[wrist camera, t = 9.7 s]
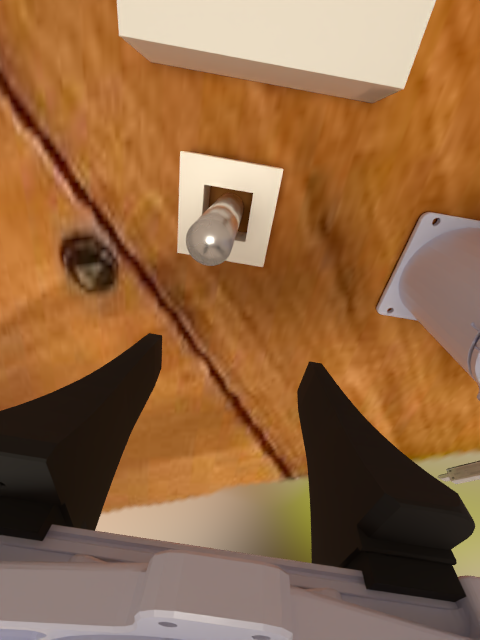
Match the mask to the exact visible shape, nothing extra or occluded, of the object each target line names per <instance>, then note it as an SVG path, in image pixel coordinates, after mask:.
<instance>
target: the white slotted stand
mask: <svg viewBox="0 0 480 640" xmlns="http://www.w3.org/2000/svg"><path fill="white" fill-rule="evenodd" d="M435 2H436V0H117V10H118V26H119V36H120V37H122V38H123V39H124V40H125V41H126V42H127V43H129V44H130V45H131V46H132V47H133V48H135V49H136V50H137V51H138V52H139V53H140V54H142V55H143V56H144V57H145V58H146V59H148V60H149V61H150V62H153V63H159V64H164V65H169V66H175V67H180V68H186V69H191V70H196V71H202V72H207V73H213V74H218V75H223V76H229V77H234V78H239V79H245V80H250V81H256V82H261V83H266V84H272V85H277V86H282V87H288V88H293V89H299V90H304V91H309V92H315V93H320V94H326V95H331V96H336V97H342V98H347V99H352V100H358V101H363V102H369V103H374V102H376V101H379V100H381V99H383V98H385V97H387V96H389V95H391V94H394V93H396V92H398V91H400V90H402V89H404V87H405V84H406V81H407V78H408V76H409V73H410V70H411V67H412V65H413V62H414V59H415V56H416V54H417V51H418V48H419V45H420V43H421V40H422V37H423V34H424V32H425V29H426V26H427V23H428V21H429V18H430V15H431V12H432V10H433V7H434V4H435Z"/></svg>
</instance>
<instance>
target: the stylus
mask: <svg viewBox="0 0 480 640" xmlns="http://www.w3.org/2000/svg"><path fill="white" fill-rule="evenodd" d="M243 211H244V205H243V202H242V200H241V198H240V197H239V196H238V195H236V194H234V193H225V194H223V195H221V196H220V197H219V198H218V199H217V200H216V201H215V202H214V203H213V204H212V205H211V206H210V207H209V208H208V209H207V210H206V211H205V212H204V213H203V214H202V215H201V216H200V217H199V219H198V220H197V221H196V222H195V223H194V224H193V225H192V226H191V227H190V228H189V230H188V232H187V235H186V246H187V249H188V252H189V253H190V255H191V256H192V257H193V259H195V260H196V261H197V262H199V263H201V264H203V265H207V266H214V265H218V264H221V263H222V262H224V261H225V260H226V259H227V258H228V257H229V255H230V253H231V250H232V247H233V244H234V240H235V237H236V234H237V231H238V228H239V224H240V221H241V218H242V215H243Z"/></svg>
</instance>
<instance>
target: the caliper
mask: <svg viewBox="0 0 480 640" xmlns="http://www.w3.org/2000/svg"><path fill="white" fill-rule="evenodd" d="M446 470H447V474H443V475H439V476H438V478H440V479H442V480H444V481H450V480H451V481H452V482H453V483H455V484H458V483H464V482H468V481H473V480H478V479H480V461H477V462H473V463H468V464H464V465H460V466H456V467H452V468H448V469H446Z"/></svg>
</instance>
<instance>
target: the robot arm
mask: <svg viewBox="0 0 480 640" xmlns="http://www.w3.org/2000/svg"><path fill="white" fill-rule="evenodd" d="M435 218H437V222H436V223H435V224H433V225H432V221H433V220H434V219H435ZM389 308H392V309H391V310H390V311H387V310H388V309H389ZM376 310H377V312H378V313H379V314H381V315H387V316H393V317H399V318H405V319H411V320H417V321H419V322H420V323H421V324H422V325H423V326H424V327H425V329H426V330H427V331H428V332H429V333H430V334H431V335H432V336H433V337H434V338H435V339H436V340H437V341H438V342H439V343H440V344H441V345H442V346H443V347H444V349H445V350H446V351H447V352H448V353H449V354H450V355H451V356H452V357H453V358H454V359H455V360H456V361H457V362H458V363H459V364H460V365H461V366H462V367H463V369H464V370H465V371H466V372H467V373H468V374H469V375H470V376H471V377H472V378H473V379H474V380H475V381H476V382H477V384H478V386H479V393H478V395H477V398H478V400H479V401H480V221H479V220H473V219H467V218H462V217H456V216H450V215H445V214H439V213H434V212H426V213H424V214H423V215H421V217H420V218H419V220H418V222H417V224H416V226H415V228H414V230H413V233H412V235H411V237H410V239H409V241H408V243H407V245H406V247H405V249H404V251H403V253H402V255H401V257H400V259H399V262H398V264H397V266H396V268H395V270H394V272H393V274H392V276H391V278H390V280H389V282H388V284H387V286H386V288H385V291H384V293H383V295H382V297H381V299H380V301H379V303H378V305H377V308H376ZM161 362H162V335H156V334H150V333H149V334H148V335H146V336H145V337H143V338H142V339H141V340H140V341H138V342H137V343H136V344H134V345H133V346H132V347H130V348H129V349H128V350H126V351H125V352H123V353H122V354H121V355H119V356H118V357H116V358H115V359H113V360H112V361H110V362H109V363H107V364H106V365H104V366H103V367H101V368H100V369H98V370H96V371H94V372H93V373H91V374H89V375H87V376H86V377H84V378H82V379H80V380H78V381H76V382H74V383H72V384H70V385H67V386H65V387H63V388H61V389H59V390H56V391H54V392H52V393H50V394H47V395H45V396H42V397H40V398H37V399H34V400H32V401H29V402H26V403H23V404H21V405H18V406H15V407H12V408H8V409H5V410H2V411H0V640H480V577H475V576H460V577H457V575H456V573H455V570H454V568H453V566H452V565H455V564H456V559H455V557H454V555H453V553H452V551H451V549H452V548H454V547H455V546H457V545H458V544H459V543H461V542H463V541H464V540H466V539H467V538H468V537H469V536H470V535H472V533H473V531H474V529H475V523H474V521H473V519H472V517H471V515H470V514H469V512H468V510H467V509H466V507H465V505H464V504H463V502H462V500H461V498H460V497H459V495H458V493H456V492H455V491H453V490H452V489H450V488H449V487H447V486H446V485H445V484H443V483H442V482H440V481H439V480H437V479H436V478H434V477H433V476H431V475H430V474H429V473H427V472H426V471H425V470H423V469H422V468H421V467H419V466H418V465H417V464H416V463H414V462H413V461H412V460H410V459H409V458H408V457H407V456H406V455H404V454H403V453H402V452H401V451H399V450H398V449H397V448H396V447H395V446H394V445H393V444H391V443H390V442H389V441H388V440H387V439H386V438H385V437H384V436H383V435H382V434H380V433H379V432H378V431H377V430H376V429H375V428H374V427H373V426H372V425H371V424H370V423H369V422H368V421H367V419H366V418H365V417H364V416H363V415H362V414H361V413H360V412H359V411H358V409H357V408H356V407H355V406H354V405H353V404H352V403H351V401H350V400H349V399H348V398H347V396H346V395H345V394H344V393H343V391H342V390H341V389H340V387H339V386H338V385H337V384H336V382H335V381H334V380H333V378H332V377H331V375H330V374H329V373H328V371H327V370H326V369H325V367H324V366H323V365H322V364H321V363H315V362H309V363H308V366H307V368H306V371H305V373H304V376H303V378H302V381H301V383H300V386H299V388H298V391H297V393H298V412H299V418H300V423H301V429H302V435H303V440H304V446H305V451H306V457H307V465H308V478H309V492H310V509H311V540H312V542H311V543H312V563H306V562H299V561H293V560H286V559H279V558H272V557H266V556H259V555H252V554H246V553H239V552H232V551H225V550H220V549H213V548H206V547H200V546H193V545H185V544H180V543H173V542H166V541H160V540H153V539H146V538H139V537H133V536H126V535H119V534H113V533H106V532H99V531H95V529H96V526H97V523H98V520H99V517H100V514H101V511H102V508H103V505H104V502H105V500H106V497H107V494H108V491H109V488H110V486H111V483H112V480H113V477H114V475H115V472H116V469H117V467H118V464H119V462H120V459H121V456H122V454H123V451H124V449H125V446H126V444H127V441H128V439H129V436H130V434H131V432H132V429H133V427H134V425H135V423H136V421H137V419H138V418H139V416H140V414H141V412H142V410H143V408H144V406H145V404H146V402H147V400H148V398H149V396H150V394H151V392H152V390H153V388H154V386H155V384H156V381H157V379H158V376H159V373H160V370H161Z"/></svg>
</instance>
